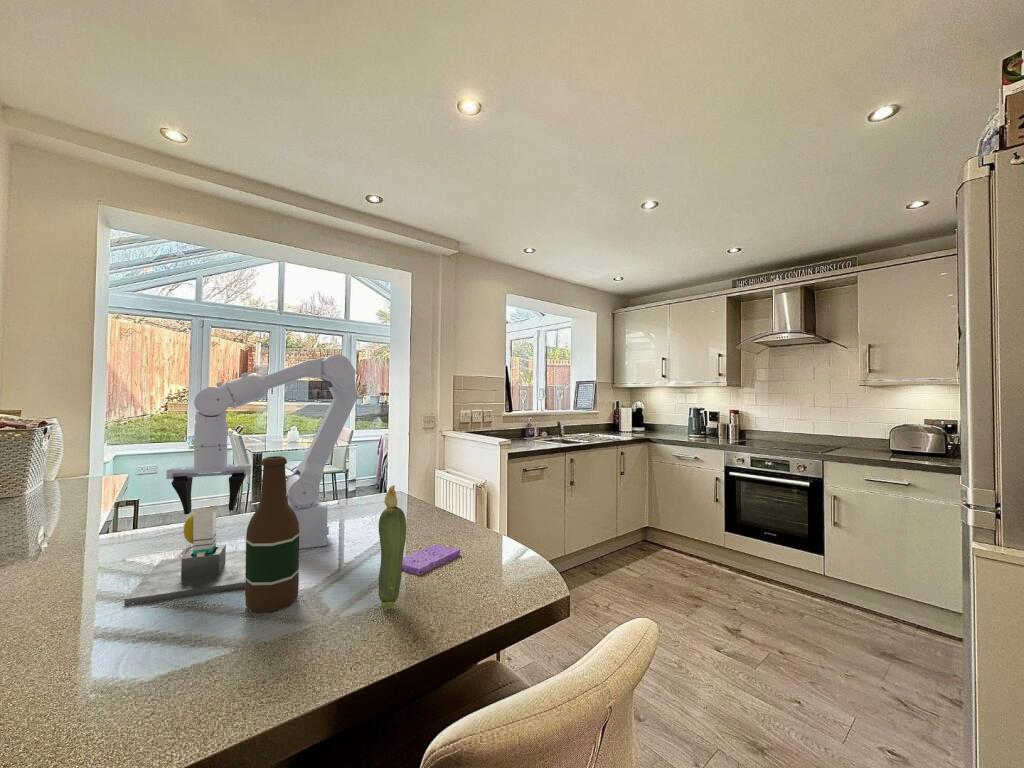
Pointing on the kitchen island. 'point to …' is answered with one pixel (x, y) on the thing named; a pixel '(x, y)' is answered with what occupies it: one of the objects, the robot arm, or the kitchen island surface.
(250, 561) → the beer bottle
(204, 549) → the post
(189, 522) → the lemon
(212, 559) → the stand base
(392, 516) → the vegetable
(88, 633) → the kitchen island surface
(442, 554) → the sponges
